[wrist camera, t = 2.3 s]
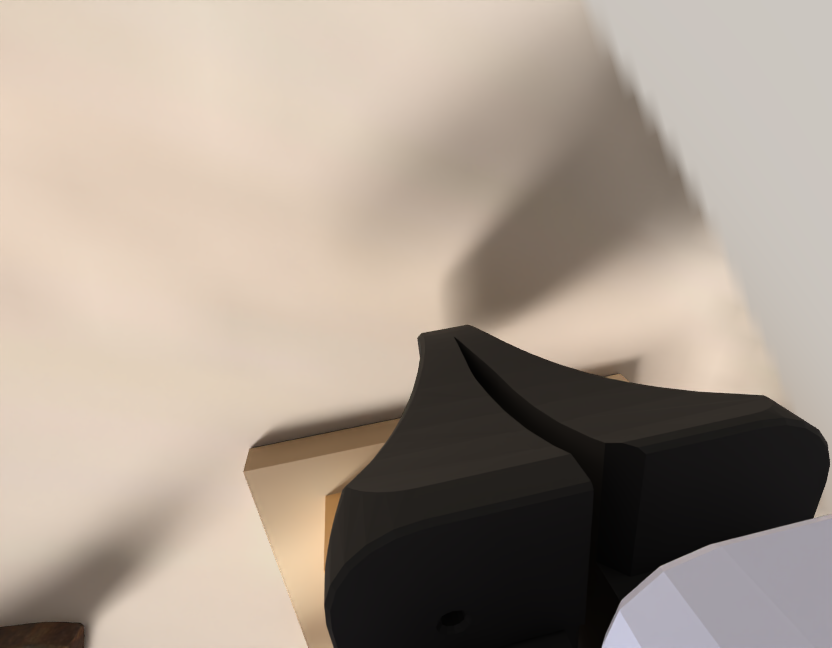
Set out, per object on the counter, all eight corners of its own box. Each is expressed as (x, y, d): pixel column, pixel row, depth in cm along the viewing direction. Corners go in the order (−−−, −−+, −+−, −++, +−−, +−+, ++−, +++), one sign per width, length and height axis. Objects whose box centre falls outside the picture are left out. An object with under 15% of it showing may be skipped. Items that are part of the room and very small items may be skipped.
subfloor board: (593, 669, 22) (604, 692, 21) (350, 736, 20) (351, 764, 19) (619, 373, 15) (638, 389, 14) (249, 448, 13) (243, 472, 12)
